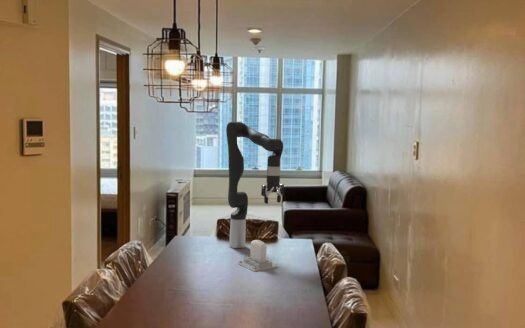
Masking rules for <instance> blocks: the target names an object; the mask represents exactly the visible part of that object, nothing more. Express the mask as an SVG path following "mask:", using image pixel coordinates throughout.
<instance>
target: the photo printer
mask: <svg viewBox="0 0 525 328" xmlns="http://www.w3.org/2000/svg"><path fill="white" fill-rule="evenodd" d="M249 250H250V252H249V253H250V256H249V257H250V260H253V261H255V262H257V263H266V260H267V244H266V243H265V242H264V241H262V240H260V239H254V240H252V241H251V242H250V249H249Z"/></svg>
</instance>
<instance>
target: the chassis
mask: <svg viewBox="0 0 525 328" xmlns="http://www.w3.org/2000/svg"><path fill="white" fill-rule="evenodd" d="M237 265H239V266H242V267H244V268H245V269H248V270H250V271H253V272H260V271H265V270H271V269H276V268H279V265H278V264H276V263H274V262H273V261H270V260H268V259H266V263H257V262H255V261H253V260H250V256H246V257H243V260H239V261H237Z"/></svg>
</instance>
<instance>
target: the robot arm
mask: <svg viewBox="0 0 525 328" xmlns="http://www.w3.org/2000/svg"><path fill="white" fill-rule="evenodd" d="M225 128H226V129H225V130H226V131H225V132H226V141H227V152H228V156H227V157H228V193H227V198H228V199H227V202H228V204H229V205H228V206H229V207H231V209H232V208H234V209H236V210H235V211H233V212H232V213H230V225H229V227H230V229H229V241H228V242H229V247H230V248H233V249H243V248H246V226H247V223H246V222H247V215H248V207H249V198H248V195H247V193H246V192H245V191H238V187H239V182H240V180H241V178H242V177H243V174H244V172H245V159H244V156H243V154H242V152H241V150H240V148H239V145H238V138H246V139H248V140H250V141H251V142H252V143H253V144H255V145H256V146H259V147H262V148H263V150H266V151H268V152H271V153H272V154H271V155H269V156H268V157H267V164H266V165H267V166H266V185H265V184H262V185H261V194H260V195H261V196H262V197H263V201H264V202H263V203H264V204H265V205H267V204H269V195H270V194H271V193H275V194H276V195H277V196H276V203H281V202H282V200H281V199H282V196H284V195H285V185H284V184H283V183H281V158H282V154H283V150H284V143H283V141H282V140H281V139H280V138H270V137H269V136H268V135H267V134H265V133H262V132H259V131H257V130H255V129H253V128H252V127H249V126H248V125H247V124H245V123H244V122H241V121H229V122H228V123H227V124H226V127H225Z"/></svg>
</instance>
